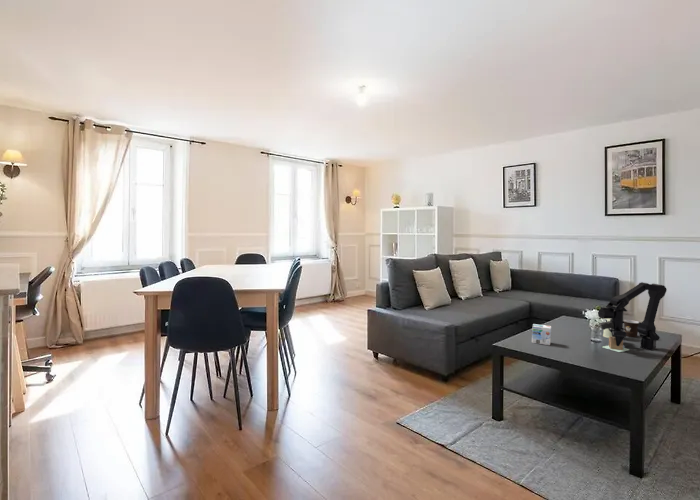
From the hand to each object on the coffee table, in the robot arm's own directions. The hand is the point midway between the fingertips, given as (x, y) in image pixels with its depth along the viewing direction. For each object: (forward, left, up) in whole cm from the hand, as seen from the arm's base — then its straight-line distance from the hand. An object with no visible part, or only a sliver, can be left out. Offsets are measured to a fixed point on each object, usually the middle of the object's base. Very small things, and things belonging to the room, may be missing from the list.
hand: (615, 343), depth 231 cm
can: (+16, -23, -3) cm, 28 cm away
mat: (0, 0, -3) cm, 3 cm away
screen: (+5, -11, -3) cm, 12 cm away
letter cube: (0, 0, -3) cm, 3 cm away
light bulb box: (+27, +31, -3) cm, 41 cm away
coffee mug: (+13, -38, -3) cm, 40 cm away
